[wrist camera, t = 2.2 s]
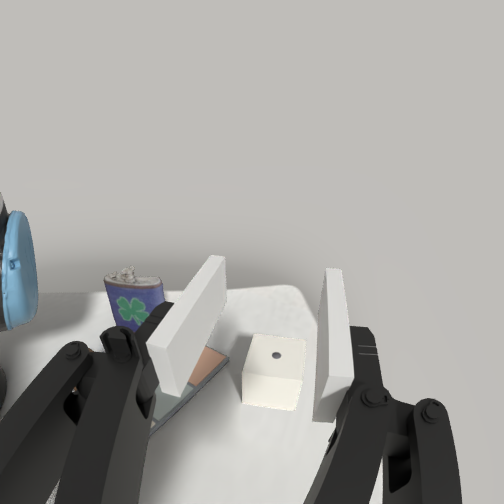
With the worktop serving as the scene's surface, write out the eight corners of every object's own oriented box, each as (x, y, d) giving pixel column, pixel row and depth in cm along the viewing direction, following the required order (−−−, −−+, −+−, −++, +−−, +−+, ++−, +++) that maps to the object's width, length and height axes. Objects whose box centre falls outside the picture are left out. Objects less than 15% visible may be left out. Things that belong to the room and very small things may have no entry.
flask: (173, 327, 40) (162, 264, 35) (167, 340, 37) (154, 275, 32) (120, 320, 40) (104, 260, 35) (113, 331, 37) (94, 270, 33)
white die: (242, 403, 28) (241, 371, 25) (252, 366, 33) (254, 333, 31) (294, 411, 27) (302, 380, 24) (299, 373, 32) (306, 339, 30)
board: (75, 411, 23) (72, 408, 23) (178, 333, 38) (178, 329, 38) (120, 461, 19) (117, 458, 19) (228, 360, 34) (228, 356, 34)
